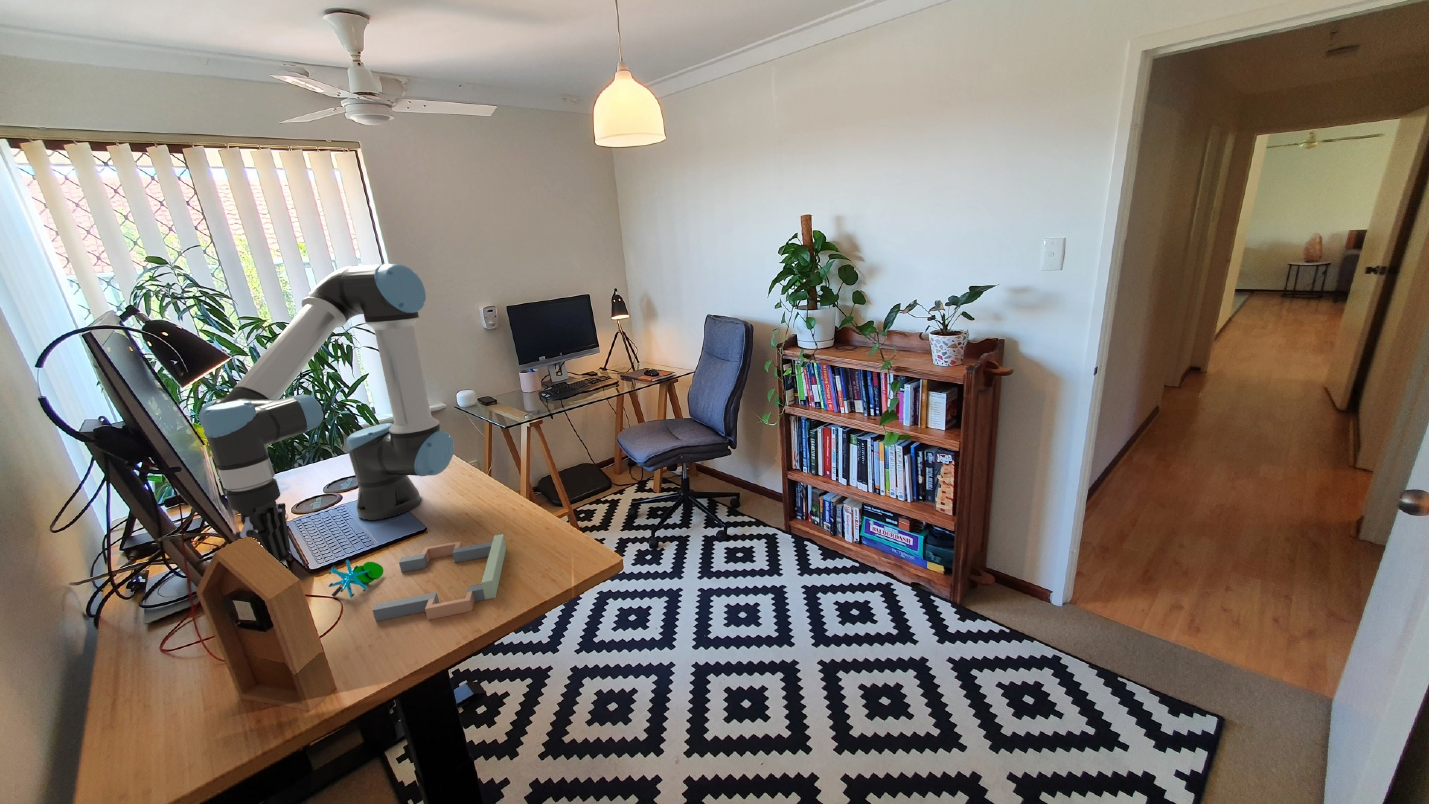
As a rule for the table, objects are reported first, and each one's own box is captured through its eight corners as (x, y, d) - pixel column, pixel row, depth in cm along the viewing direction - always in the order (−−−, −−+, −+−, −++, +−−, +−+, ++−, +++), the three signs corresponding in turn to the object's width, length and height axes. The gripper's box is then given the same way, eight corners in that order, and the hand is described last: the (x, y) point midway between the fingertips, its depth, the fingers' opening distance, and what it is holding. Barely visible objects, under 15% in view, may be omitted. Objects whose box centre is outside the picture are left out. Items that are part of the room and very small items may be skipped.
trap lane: (407, 560, 125) (403, 545, 124) (507, 542, 130) (504, 527, 129) (370, 631, 102) (365, 613, 101) (493, 606, 107) (490, 589, 106)
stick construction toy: (346, 594, 107) (325, 563, 109) (325, 616, 108) (304, 586, 110) (395, 577, 119) (375, 550, 121) (375, 598, 120) (356, 570, 122)
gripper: (246, 473, 107) (280, 577, 113) (204, 501, 95) (244, 616, 101) (290, 467, 108) (320, 571, 115) (254, 494, 96) (290, 608, 103)
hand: (285, 592), depth 108 cm, fingers closed
